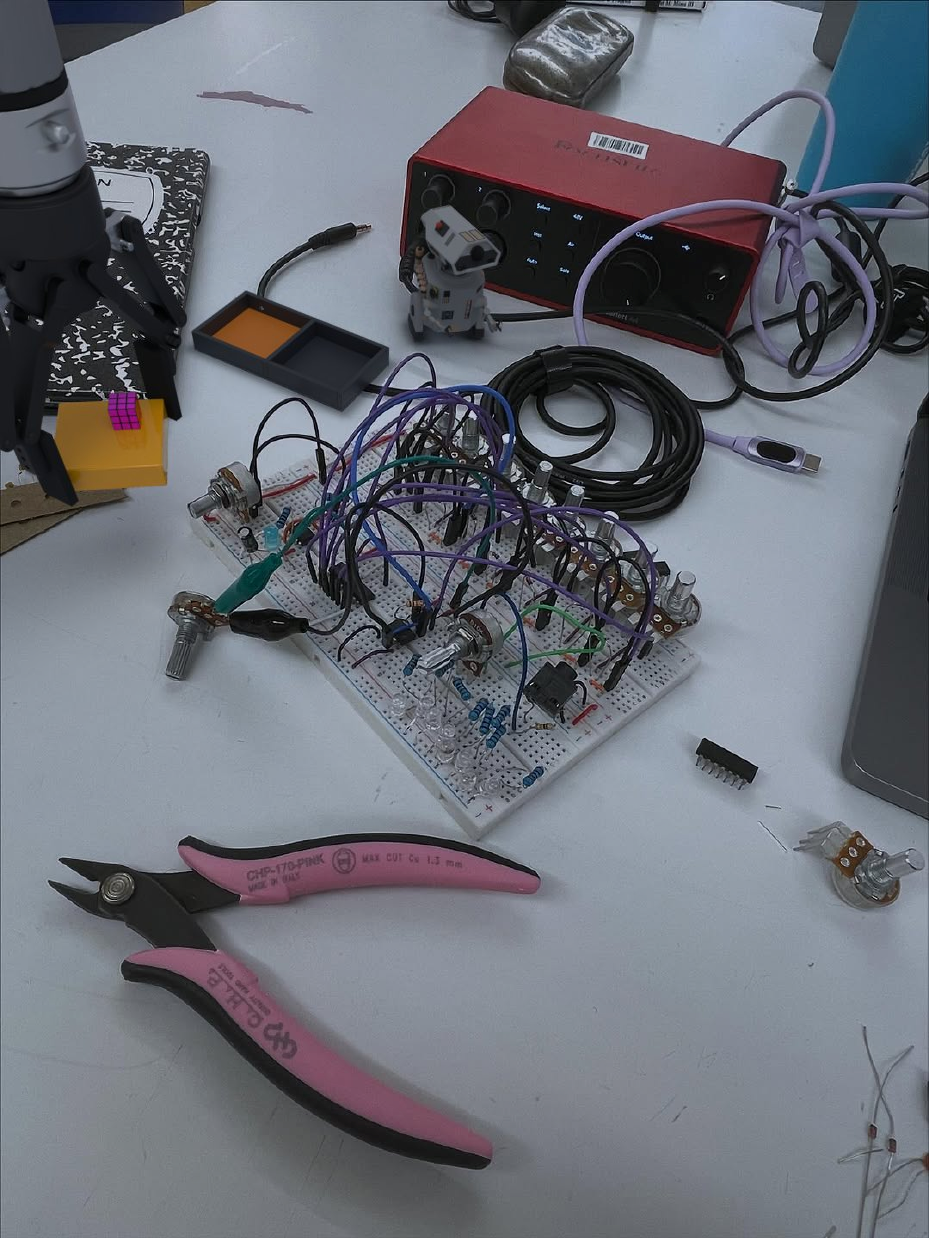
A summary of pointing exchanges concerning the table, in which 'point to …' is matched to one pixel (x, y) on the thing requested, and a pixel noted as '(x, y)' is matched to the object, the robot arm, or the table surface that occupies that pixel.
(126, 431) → the orange box
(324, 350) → the divided tray
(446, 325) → the figurine
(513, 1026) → the table surface
